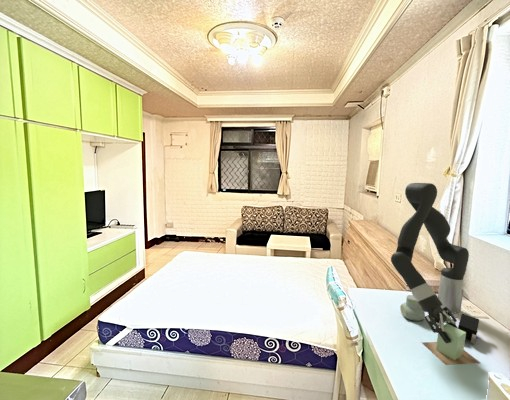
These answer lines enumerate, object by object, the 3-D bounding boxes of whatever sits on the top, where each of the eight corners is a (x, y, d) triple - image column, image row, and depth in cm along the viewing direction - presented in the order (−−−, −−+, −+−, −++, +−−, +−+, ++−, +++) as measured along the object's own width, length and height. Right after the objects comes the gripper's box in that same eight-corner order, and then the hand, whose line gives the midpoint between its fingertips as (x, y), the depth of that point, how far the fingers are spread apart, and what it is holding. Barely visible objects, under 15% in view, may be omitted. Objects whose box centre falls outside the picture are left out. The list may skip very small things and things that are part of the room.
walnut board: (452, 343, 108) (453, 341, 108) (480, 365, 96) (480, 362, 96) (420, 344, 107) (421, 342, 107) (445, 367, 95) (445, 364, 95)
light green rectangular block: (443, 344, 106) (446, 323, 105) (462, 354, 100) (466, 332, 99) (435, 349, 103) (438, 328, 101) (454, 360, 97) (458, 337, 96)
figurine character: (475, 354, 105) (477, 333, 116) (478, 337, 103) (480, 317, 114) (454, 345, 109) (458, 326, 120) (456, 329, 108) (460, 311, 119)
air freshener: (426, 325, 120) (428, 304, 119) (406, 322, 122) (408, 302, 121) (416, 312, 131) (418, 293, 130) (398, 310, 133) (400, 291, 131)
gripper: (424, 297, 102) (454, 342, 94) (442, 290, 109) (472, 331, 101) (408, 304, 107) (436, 347, 99) (427, 296, 114) (454, 336, 106)
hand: (454, 339), depth 100 cm, fingers open, 8 cm apart
